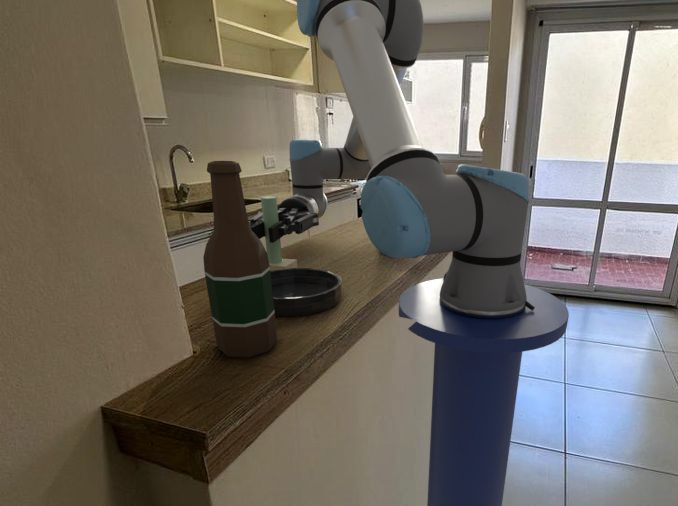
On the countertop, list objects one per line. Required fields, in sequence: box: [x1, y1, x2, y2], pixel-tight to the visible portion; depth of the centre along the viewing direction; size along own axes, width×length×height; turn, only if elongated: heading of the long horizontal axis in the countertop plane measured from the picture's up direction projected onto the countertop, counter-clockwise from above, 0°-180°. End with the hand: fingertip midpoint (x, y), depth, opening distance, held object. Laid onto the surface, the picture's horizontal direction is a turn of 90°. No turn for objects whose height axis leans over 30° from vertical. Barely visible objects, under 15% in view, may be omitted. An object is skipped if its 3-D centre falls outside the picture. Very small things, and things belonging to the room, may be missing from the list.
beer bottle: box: [203, 160, 278, 358], centre depth 57 cm, size 8×8×24 cm
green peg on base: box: [260, 195, 299, 271], centre depth 87 cm, size 7×5×15 cm
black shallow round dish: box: [270, 267, 343, 318], centre depth 77 cm, size 16×16×3 cm
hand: (261, 234), depth 82 cm, fingers closed on green peg on base, 3 cm apart
